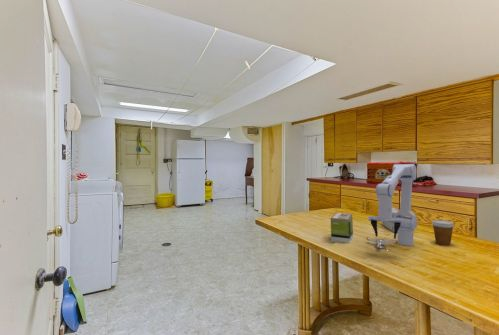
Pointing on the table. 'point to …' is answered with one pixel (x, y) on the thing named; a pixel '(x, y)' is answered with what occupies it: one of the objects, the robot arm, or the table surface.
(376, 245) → the capstan
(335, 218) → the tea box
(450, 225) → the disposable coffee cup
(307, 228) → the table surface
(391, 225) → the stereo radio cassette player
